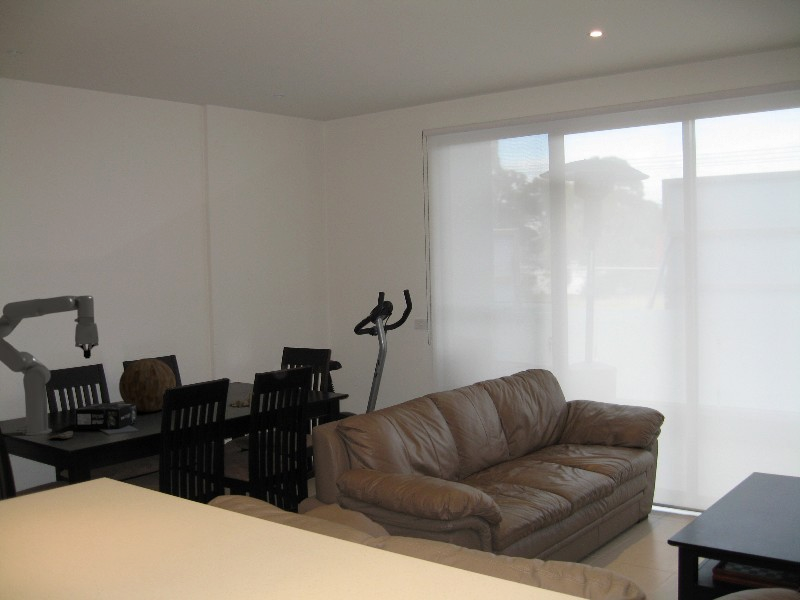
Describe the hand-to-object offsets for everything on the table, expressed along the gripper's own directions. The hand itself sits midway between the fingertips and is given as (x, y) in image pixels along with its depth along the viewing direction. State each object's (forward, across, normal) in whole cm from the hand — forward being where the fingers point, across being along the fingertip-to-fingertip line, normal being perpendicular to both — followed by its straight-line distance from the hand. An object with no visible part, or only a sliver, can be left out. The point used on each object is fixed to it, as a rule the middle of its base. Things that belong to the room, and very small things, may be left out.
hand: (87, 358), depth 384 cm
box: (+30, +2, -5) cm, 30 cm away
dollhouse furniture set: (+36, +88, +16) cm, 96 cm away
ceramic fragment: (+35, -12, -17) cm, 40 cm away
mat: (+35, +11, -8) cm, 37 cm away
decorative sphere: (+35, +39, +34) cm, 62 cm away
